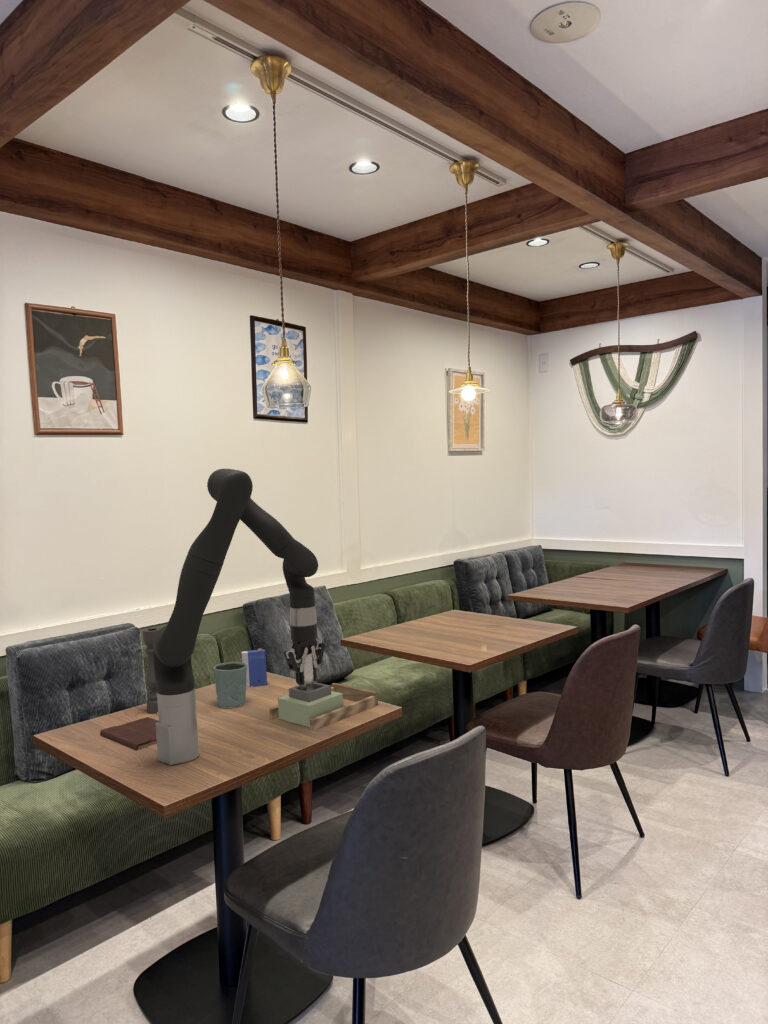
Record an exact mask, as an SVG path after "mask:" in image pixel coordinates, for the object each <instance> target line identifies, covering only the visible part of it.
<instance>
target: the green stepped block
mask: <svg viewBox="0 0 768 1024" xmlns="http://www.w3.org/2000/svg"><path fill="white" fill-rule="evenodd" d="M331 687H332V685H330V684H329V685H328V684H325V683H320V682H315V681H314V690H312V691H305V690H301V689H300V685H298V684H297V685H295V686H291V687H289V688H288V694H285V695H283V696H279V697H277V706H278V713H279V717H278V719H279V720H281V721H285V722H288V723H292V724H296V725H300V726H303V727H307V728H310V719H313V718H315V717H318V716H320V715H323V714H326V713H328V712H331V711H333V710H336V709H339V708H341V707H344V699H343V694H342V693H338V692H333V691H331Z"/></svg>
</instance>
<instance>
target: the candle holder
mask: <svg viewBox="0 0 768 1024" xmlns="http://www.w3.org/2000/svg"><path fill="white" fill-rule="evenodd" d="M161 628H162V627H149V628H145V629H142V639H143V642H144V645H145V647H146V648H145V649H144V653H145V654H146V655H147V667H146V673H145V681H144V682H145V686H146V687H147V688H148V693H147V695H146V698H147V699H146V712H147V714H158V713H157V712H158V701H157V687H156V681H155V672H154V660H153V639H154V636H155V634H156V633H157V632H158V631H159V630H160V629H161Z"/></svg>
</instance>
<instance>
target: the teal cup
mask: <svg viewBox="0 0 768 1024" xmlns="http://www.w3.org/2000/svg"><path fill="white" fill-rule="evenodd" d="M246 673H247V664H246V663H242V661H229V662H227V661H226V662H223V663H222V662H221V663H218V664H216V665H214V666H213V674H214V684H215V693H216V702H217V706H218V707H219V706H220V707H219V708H221V707H226V708H225V709H228V708H227V707H235V706H239V707H241V706H240V705H242V706H244V705H245V704H246V701H247V700H246V699H247V695H246V694H247V687H246ZM243 704H244V705H243ZM235 708H236V707H235Z"/></svg>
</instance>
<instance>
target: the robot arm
mask: <svg viewBox="0 0 768 1024" xmlns="http://www.w3.org/2000/svg"><path fill="white" fill-rule="evenodd" d="M252 480H253V479H252V478H251V476H250V475H249V473H247V472H245V471H242V470H239V469H232V468H219V469H216V470H215V471H213V472H212V473H211V474H210V475H209V476H208V479H207V482H206V488H207V491H208V493H209V495H210V497H211V498H212V499H213V500H214V501H216V504H215V506H214V509H213V512H212V515H211V517H210V519H209V520H208V523H207V524H206V525H205V526H204V528H203V529H202V530H201V532H200V533H199V534H198V536H197V537H196V538H195V539H194V541H193V542H192V544H191V546H190V547H189V549H188V552H187V554H186V556H185V560H184V561H183V564H182V568H181V571H180V575H179V578H178V584H177V591H176V598H175V603H174V606H173V610H172V612H171V615H170V618H169V619H168V622H167V624H166V625H165V626H163V627H160V628H161V629H160V630H159V631H158V632H157V633H156V634H155V636H154V639H153V660H154V672H155V681H156V687H157V701H158V713H157V714H158V721H159V722H157V723H156V739H157V744H156V752H157V753H156V754H157V761H159V762H162V763H164V764H167V765H169V766H173V765H177V764H184V763H188V762H191V761H193V760H195V759H197V758H198V757H199V756H200V745H199V731H198V718H197V717H198V716H197V714H198V713H197V698H196V697H197V696H196V683H195V675H194V672H193V664H192V656H193V653H194V651H195V646H196V642H197V639H198V635H199V629H200V626H201V622H202V619H203V616H204V613H205V610H206V609H207V606H208V604H209V603H210V602H209V601H210V600H211V597H212V594H213V593H214V590H215V587H216V584H217V582H218V579H219V577H220V575H221V571H222V569H223V566H224V562H225V560H226V556H227V554H228V551H229V548H230V546H231V544H232V540H233V537H234V535H235V532H236V529H237V528H238V527H237V526H238V524H239V522H240V521H241V522H242V523H243V524H244V525H245V526H246V527H247V529H249V530H250V531H251V532H252V533H253V534H254V535H255V536H256V537H257V539H259V540H260V541H261V542H262V543H263V544H264V545H265V547H267V548H268V550H269V551H270V552H271V553H272V554H273V555H274V556H275V557H277V558H279V559H282V560H283V561H282V571H283V572H282V573H283V577H284V580H285V583H286V588H287V589H288V593H289V624H290V625H289V628H290V630H289V631H290V640H291V641H292V645H291V649H289V650H288V651H287V650H285V651H284V652H283V655H284V657H285V661H286V664H287V666H288V669H289V671H293V672H295V682H296V684H297V686H298V685H304V672H303V667H304V664H305V662H306V655H307V654H310V653H312V659H313V678H314V682H315V681H317V675H318V674H317V668H318V665H321V664H322V663H323V657H324V654H325V653H324V652H325V648H326V647H325V646H326V644H325V642H318V641H317V638H318V620H317V619H318V618H317V617H318V616H317V610H316V598H315V589H314V587H313V586H312V585H311V584H309V583H308V582H307V581H306V578H310V577H313V576H314V575H315V574H316V573H317V572H318V570H319V561H318V558H317V556H316V555H315V554H314V552H313V551H311V549H309V547H307V546H306V545H304V544H303V543H301V541H300V542H299V541H298V540H297V539H295V538H294V537H293V536H292V534H291V533H290V532H289V531H288V530H287V529H286V528H285V527H284V525H282V524H281V523H280V521H278V520H277V519H276V518H275V517H274V516H272V515H271V514H270V513H269V512H267V511H266V510H265V509H263V508H262V507H261V506H260V505H258V503H257V502H256V501H254V500H253V499H252V498H251V496H252V494H253V493H252V492H253V486H254V485H253V481H252ZM298 658H299V659H301V660H298ZM299 664H300V665H299Z"/></svg>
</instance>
